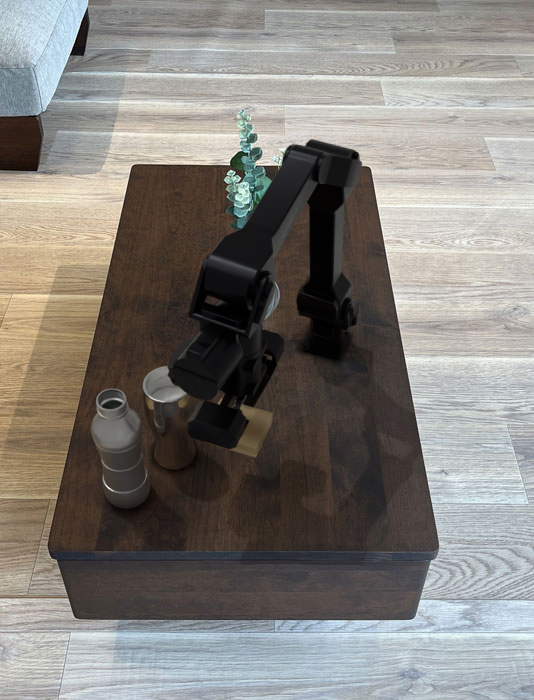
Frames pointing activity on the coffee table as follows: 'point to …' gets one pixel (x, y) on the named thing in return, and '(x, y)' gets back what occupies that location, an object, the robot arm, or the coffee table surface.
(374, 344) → the coffee table surface
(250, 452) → the wooden block
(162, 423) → the metal cup
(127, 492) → the plastic bottle
